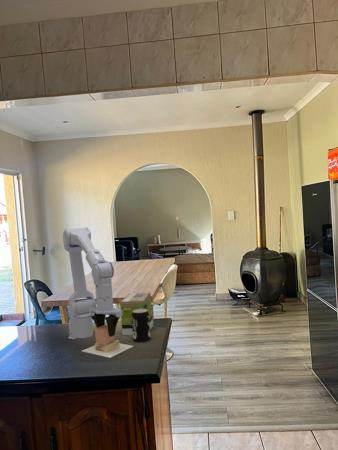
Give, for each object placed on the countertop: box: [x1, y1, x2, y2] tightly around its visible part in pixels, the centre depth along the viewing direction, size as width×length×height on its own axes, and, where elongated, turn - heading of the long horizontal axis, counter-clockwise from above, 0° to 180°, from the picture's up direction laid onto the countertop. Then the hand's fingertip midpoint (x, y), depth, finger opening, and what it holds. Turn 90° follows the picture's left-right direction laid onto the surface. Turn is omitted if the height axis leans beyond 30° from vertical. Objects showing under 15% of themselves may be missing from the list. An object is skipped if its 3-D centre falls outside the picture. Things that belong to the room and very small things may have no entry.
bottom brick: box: [94, 338, 120, 353], centre depth 130 cm, size 6×6×2 cm
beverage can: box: [132, 308, 152, 343], centre depth 138 cm, size 7×7×12 cm
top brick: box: [94, 324, 115, 345], centre depth 129 cm, size 4×4×5 cm
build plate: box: [81, 342, 134, 359], centre depth 130 cm, size 14×12×1 cm
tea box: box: [119, 292, 154, 336], centre depth 151 cm, size 15×10×15 cm
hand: (106, 334), depth 130 cm, fingers closed on top brick, 4 cm apart
